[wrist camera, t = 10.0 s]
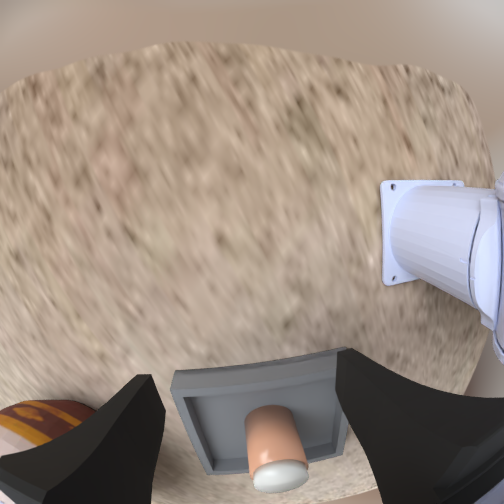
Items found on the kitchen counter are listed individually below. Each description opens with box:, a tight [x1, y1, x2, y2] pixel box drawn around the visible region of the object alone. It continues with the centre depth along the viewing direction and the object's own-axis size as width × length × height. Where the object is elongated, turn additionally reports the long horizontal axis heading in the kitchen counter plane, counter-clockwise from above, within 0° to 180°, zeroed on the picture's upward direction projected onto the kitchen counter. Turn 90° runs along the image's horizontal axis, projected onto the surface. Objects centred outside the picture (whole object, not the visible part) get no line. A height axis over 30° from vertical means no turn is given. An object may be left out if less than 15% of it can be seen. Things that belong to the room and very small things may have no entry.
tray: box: [170, 347, 349, 475], centre depth 21 cm, size 14×13×2 cm
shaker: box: [244, 405, 309, 493], centre depth 18 cm, size 4×4×7 cm
